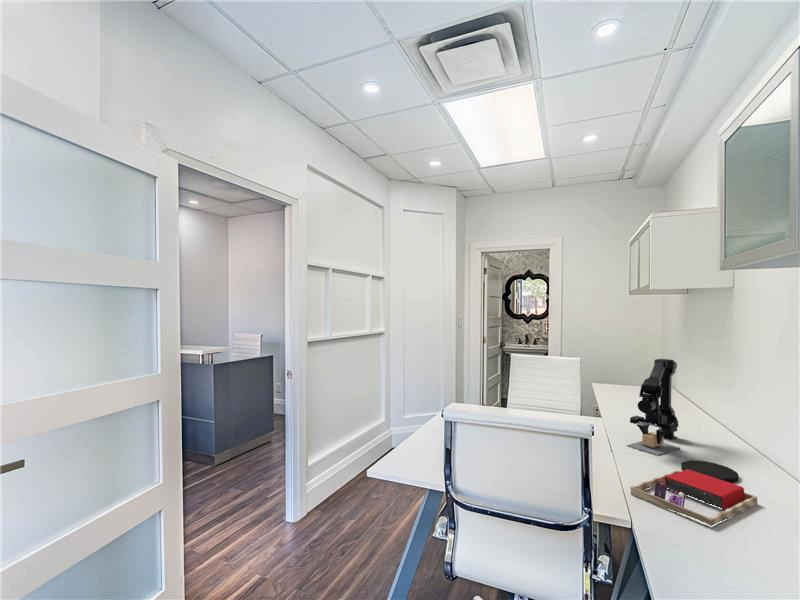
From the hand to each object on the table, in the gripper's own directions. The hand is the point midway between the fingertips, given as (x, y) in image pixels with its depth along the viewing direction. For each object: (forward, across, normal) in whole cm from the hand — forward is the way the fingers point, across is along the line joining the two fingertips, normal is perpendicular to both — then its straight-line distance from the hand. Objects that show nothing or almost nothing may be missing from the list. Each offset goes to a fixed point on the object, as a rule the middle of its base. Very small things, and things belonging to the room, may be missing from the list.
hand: (653, 442), depth 183 cm
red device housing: (+3, -35, +32) cm, 48 cm away
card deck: (+1, 0, 0) cm, 1 cm away
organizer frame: (+2, -35, +39) cm, 52 cm away
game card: (+3, -34, +51) cm, 61 cm away
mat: (+3, 0, 0) cm, 3 cm away
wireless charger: (+3, -27, +10) cm, 29 cm away
